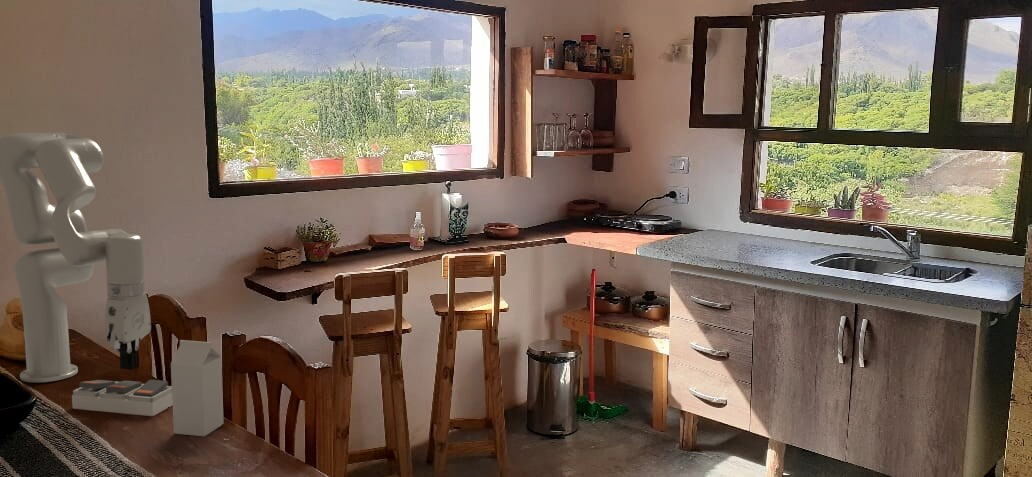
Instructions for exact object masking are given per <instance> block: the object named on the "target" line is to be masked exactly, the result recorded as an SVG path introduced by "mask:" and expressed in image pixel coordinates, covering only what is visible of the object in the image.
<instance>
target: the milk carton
mask: <svg viewBox="0 0 1032 477" xmlns="http://www.w3.org/2000/svg"><path fill="white" fill-rule="evenodd" d="M222 372H223V371H222V356H221V355H220V354H219V353H218V352H217V351H216V350H215V349H214V348H213V347H212V342H208V341H197V340H185V339H180V340H179V346H178V348H177V351H176V353H175V354H174V356H173V358H172V360H171V362H170V378H171V386H172V402H173V405H172V419H173V434H174V435H175V434H176V435H186V436H187V435H189V436H197V437H206V436H207V435H210V434H211V433H213V432H214V431H215V430H216V429H219V428H220V427H221V426H223V425H224V404H223V403H224V402H223V401H224V400H223V399H224V398H223V376H222V374H223V373H222ZM222 424H223V425H222Z"/></svg>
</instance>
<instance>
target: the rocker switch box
mask: <svg viewBox="0 0 1032 477" xmlns="http://www.w3.org/2000/svg"><path fill="white" fill-rule="evenodd" d="M118 382H119V381H116V380H115V384H116V383H118ZM144 384H145V383H141V386H140V387H142V386H143V385H144ZM140 387H138V388H136V389H133V390H130V391H128V392H125V393H119V392H108V391H106V387H104V388H98V389H94V388H83V387H78V388H75V389H74V390H72V395H71V403H72V404H71V405H72V409H74V410H85V411H96V412H103V413H104V412H107V413H116V414H117V413H118V414H125V415H136V416H148V417H154V416H156V415H157V414H159V413H161V412H163V411H165V410H167V409H169V408H171V407H173V402H172V385H170V386H169V385H168V386H166V387H165V388H164V389H163V390H162V391H161V392H159V393H158V394H157V395H155V396H153V397H146V396H135V395H134V394H133V393H134V392H136V391H137V390H138V389H139V388H140ZM168 407H169V408H168Z"/></svg>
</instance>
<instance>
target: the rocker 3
mask: <svg viewBox="0 0 1032 477" xmlns="http://www.w3.org/2000/svg"><path fill="white" fill-rule="evenodd" d="M143 384H144V385H143V386H142V387H140V388H139V389H138V390H137V391H136V392H134V393H133V394H134V395H135V396H146V397H153V396H155V395H157V394H158V393H159V392H161V391H162V390H163V389H164V388H165V387H166V386H169V382H168V380H159V379H149V380H147V381H146V382H145V383H143Z"/></svg>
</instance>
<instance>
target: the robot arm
mask: <svg viewBox="0 0 1032 477" xmlns="http://www.w3.org/2000/svg"><path fill="white" fill-rule="evenodd" d="M104 157H105V156H104V153H103V151H102V148H101V147H100V146H99V144H98V143H96V142H95V141H94V140H93V139H90V138H87V137H84V136H80V135H76V134H72V133H67V132H19V133H18V132H17V133H11V134H6V135H3V136H1V137H0V182H1V184H2V186H3V189H4V191H5V195H6V199H7V205H8V210H9V214H10V220H11V224H12V228H13V233H14V236H15V238H16V240H17V242H18V243H20V244H21V245H24V246H37V245H38V246H39V245H47V244H56V245H57V247H56V248H54V247H53V248H47V249H46V248H44V249H39V250H38V249H37V250H33V251H29V252H26V253H24V254H22V255H20V256H19V257H18V258H17V259H16V260H15V263H14V269H13V270H14V274H15V278H16V282H17V287H18V289H19V290H18V291H19V293H20V294H19V295H20V300H21V312H22V321H23V334H24V335H23V336H24V337H23V338H24V348H25V363H26V369H25V370H22V371H21V372H20V373H19V379H20V380H21V381H22V382H26V383H32V384H33V383H39V384H40V383H50V382H57V381H60V380H65V379H69V378H71V377H73V376H75V375H77V373H78V372H79V369H78V368H79V367H78V366H77V365H75V364H72V363H71V355H70V353H71V352H70V351H71V350H70V339H69V338H70V337H69V321H68V320H69V319H68V307H67V303H66V301H65V299H64V298H63V297H62V296H61V295H60V293H59V292H58V291H57V290H56V288H59V287H64V286H68V285H69V286H70V285H74V284H75V285H76V284H80V283H85V282H87V281H89V280H90V279H91V278H92V276H93V273H94V269H95V268H94V267H95V265H100V264H106V265H105V268H106V287H107V288H106V290H107V296H106V297H107V298H106V305H105V306H106V307H105V316H104V318H105V320H104V321H105V322H104V329H105V331H104V332H105V333H104V334H105V338H106V340H107V341H108V342H109V349H113V350H117V352H118V353H119V366H120V367H119V368H120V369H121V370H122V369H123V370H130V371H133V370H134V369H136V368H138V352H137V351H138V350H139V344H140V342H141V340H143V339H144V338H145V336H147V335H148V334H150V333H151V331H152V324H151V323H152V322H151V313H150V312H151V311H150V304H149V300H148V295H147V292H145V272H144V269H145V268H144V265H145V264H144V244H143V243H144V242H143V239H142V237H141V235H139V234H134V233H127V232H126V231H124V230H123V229H119V228H109V229H99V230H98V229H96V230H89V231H88V227H87V223H86V219H85V217H84V214H83V213H82V211H81V209H83V208H84V207H86V206H88V205H89V204H90V203H91V202H92V201H93V200H95V198H96V195H97V189H96V186H95V184H94V183H93V180H92V179H91V177H90V176H89V174H96V173H98V172H99V171H100V170H101V169H102V168H103V166H104V163H105V162H104V160H105V158H104ZM29 169H39V170H40V171H41V173H42V175H43V177H44V179H45V181H46V183H47V185H48V186H49V188H50V190H51V192H52V195H54V197H55V199H56V201H57V204H51V203H50V202H49V198H48V193H47V189H46V187H45V184H44V182H43V181H42V180H41V179H40V178H39V177H38V176H37V175H36V174H34V173H33V172H32V171H31V170H29Z"/></svg>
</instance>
